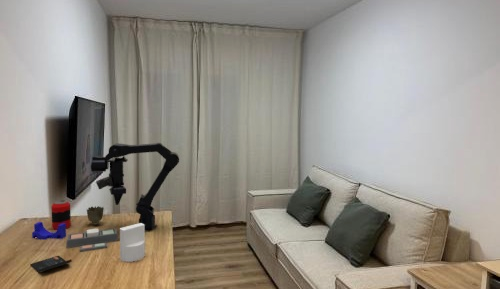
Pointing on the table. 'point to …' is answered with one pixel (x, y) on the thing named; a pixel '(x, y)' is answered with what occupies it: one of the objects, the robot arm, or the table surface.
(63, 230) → the cable clip
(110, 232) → the sage key
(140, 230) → the cylinder with rectangular tab
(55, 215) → the soda can
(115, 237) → the keypad
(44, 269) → the calculator
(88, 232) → the cream key
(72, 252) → the table surface
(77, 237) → the terracotta key
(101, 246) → the strip
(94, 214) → the cup
